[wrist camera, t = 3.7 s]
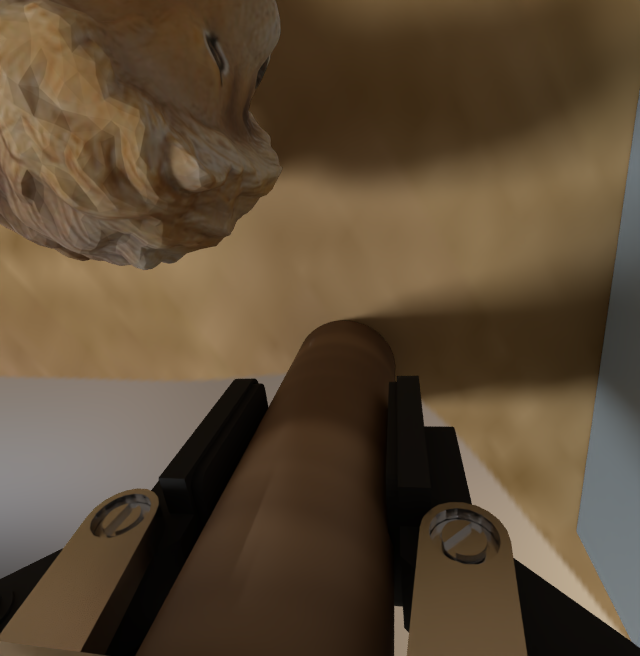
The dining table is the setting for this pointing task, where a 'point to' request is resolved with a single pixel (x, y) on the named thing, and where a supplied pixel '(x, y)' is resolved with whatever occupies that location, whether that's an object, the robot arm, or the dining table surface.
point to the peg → (299, 521)
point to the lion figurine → (132, 124)
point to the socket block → (618, 425)
